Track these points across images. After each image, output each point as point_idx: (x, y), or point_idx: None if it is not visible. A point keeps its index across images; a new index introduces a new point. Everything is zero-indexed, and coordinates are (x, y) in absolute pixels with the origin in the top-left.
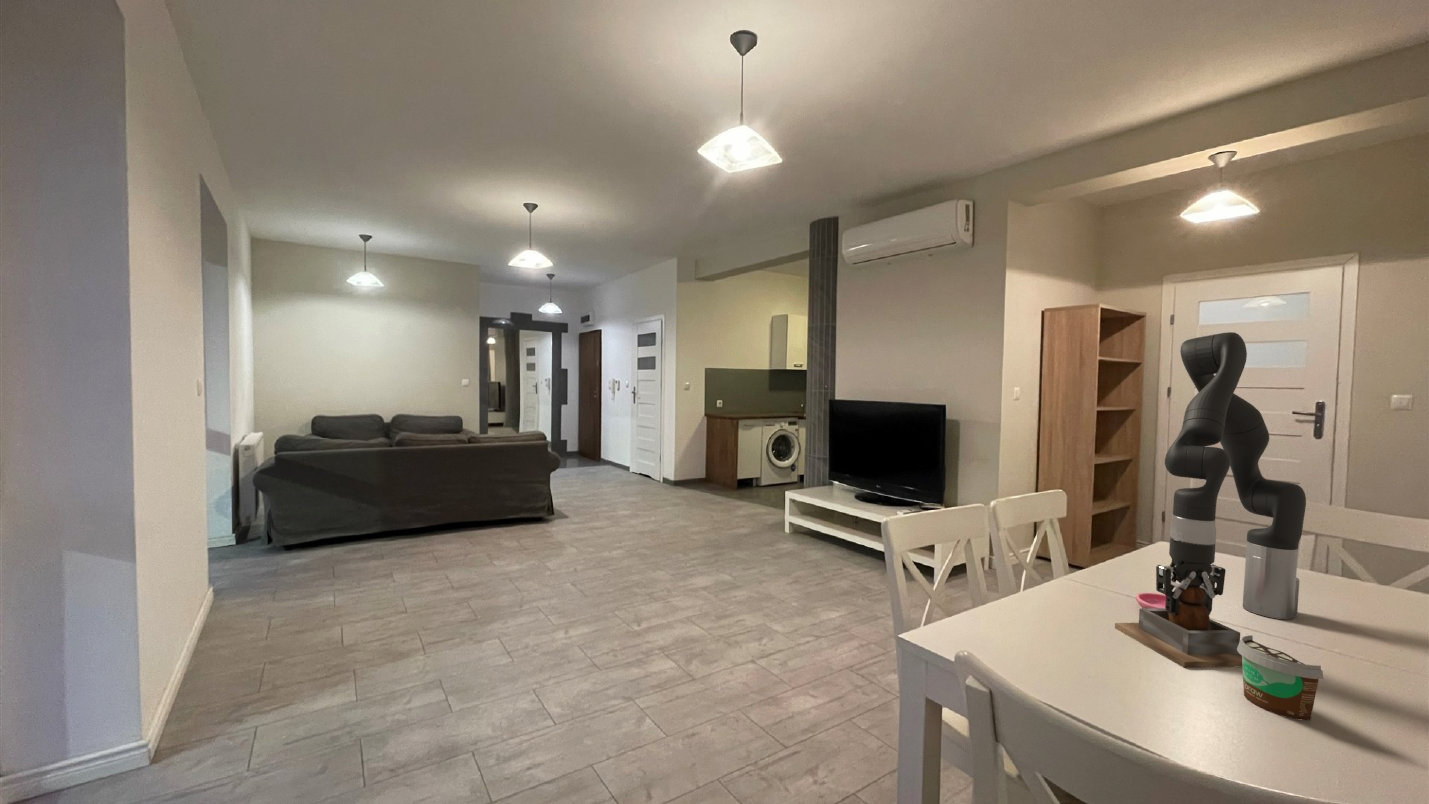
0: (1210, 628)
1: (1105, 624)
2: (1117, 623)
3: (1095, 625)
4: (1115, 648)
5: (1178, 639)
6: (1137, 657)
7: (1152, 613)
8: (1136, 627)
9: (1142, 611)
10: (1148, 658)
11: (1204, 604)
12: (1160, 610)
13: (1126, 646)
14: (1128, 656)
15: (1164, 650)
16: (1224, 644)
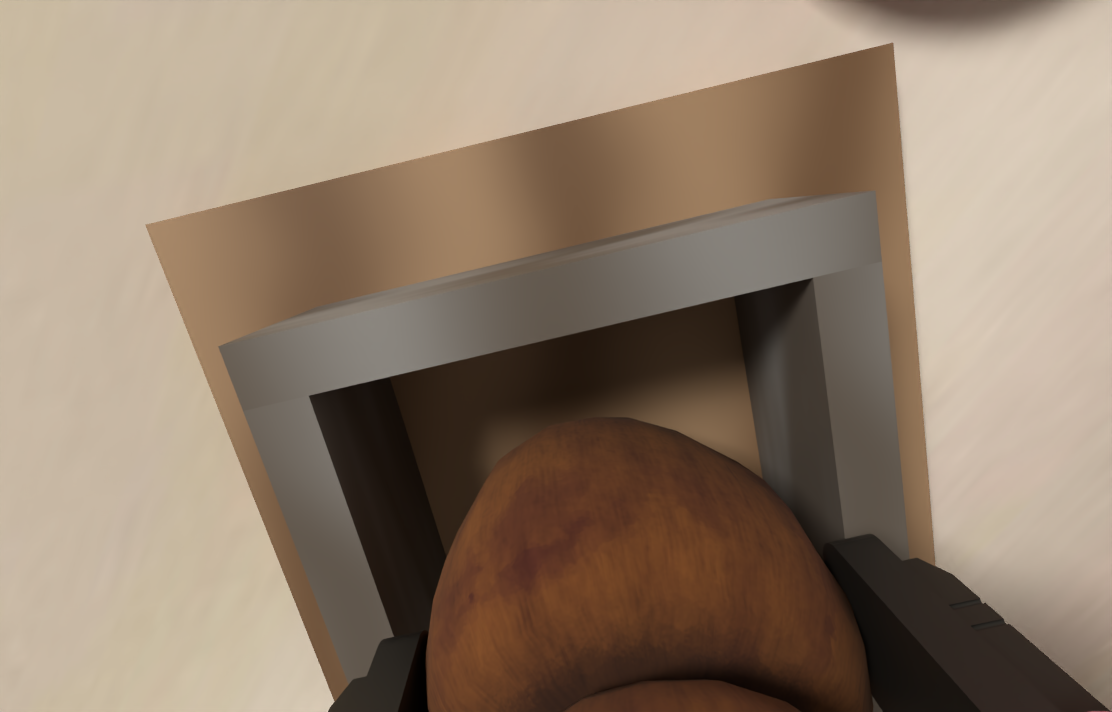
0: (812, 533)
1: (121, 150)
2: (163, 234)
3: (21, 196)
4: (56, 601)
5: None
6: (158, 695)
7: (314, 471)
8: (307, 293)
9: (244, 387)
10: (223, 694)
11: (906, 706)
12: (468, 348)
13: (146, 555)
14: (104, 694)
15: (328, 675)
16: None
